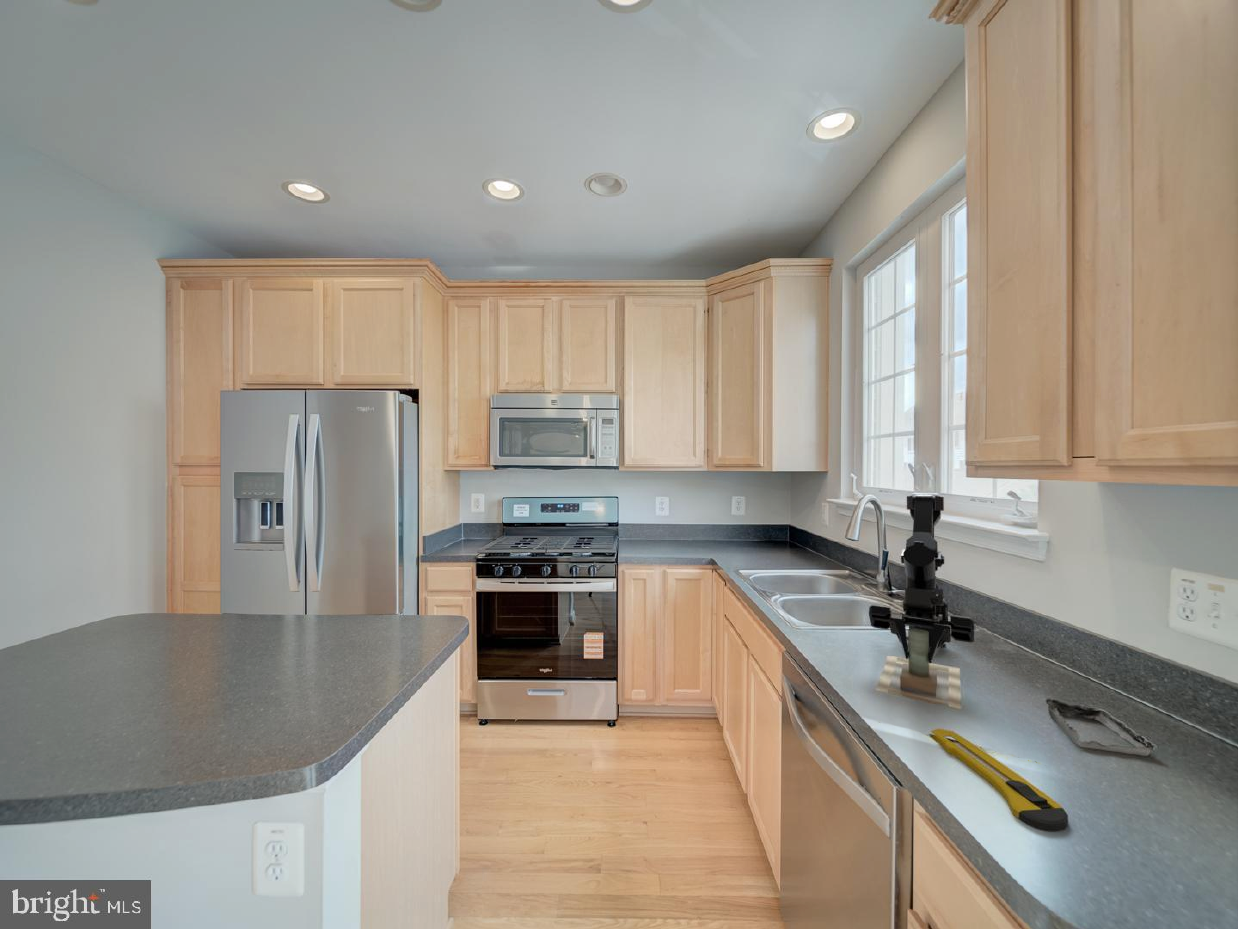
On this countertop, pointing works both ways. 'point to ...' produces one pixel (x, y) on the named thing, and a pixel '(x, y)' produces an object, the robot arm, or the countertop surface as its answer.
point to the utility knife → (1007, 784)
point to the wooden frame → (945, 693)
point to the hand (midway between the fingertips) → (918, 660)
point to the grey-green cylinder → (918, 665)
